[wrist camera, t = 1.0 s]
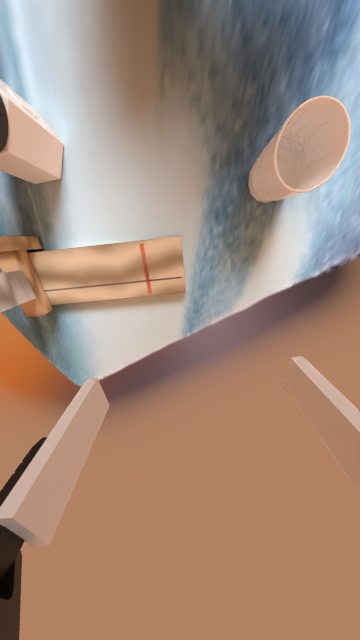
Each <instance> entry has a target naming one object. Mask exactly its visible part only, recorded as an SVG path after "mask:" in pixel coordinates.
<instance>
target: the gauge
mask: <svg viewBox="0 0 360 640" xmlns="http://www.w3.org/2000/svg"><path fill="white" fill-rule="evenodd" d="M34 249H43V248H42V246H41V244H40V241H39V239H38V237H27V236H4V237H0V267H1V268H2V270H3V272H0V312H3V311H5V310H8V309H10V308H13V307H15V306H18V305H21V307H22V309H23V310H24V312H25V314H26V316H27V317H36V316H43V315H45V314H47V313H48V312H50V311H52V310H53V309H52V307H51V305H50V302H49V300H48V298H47V296H46V293H45V291H44V289H43V287H42V284H41V282H40V280H39V278H38V275H37V273H36V271H35V269H34V266H33V264H32V262H31V260H30V257H29V255H28V253H27V251H26V250H34Z"/></svg>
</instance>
